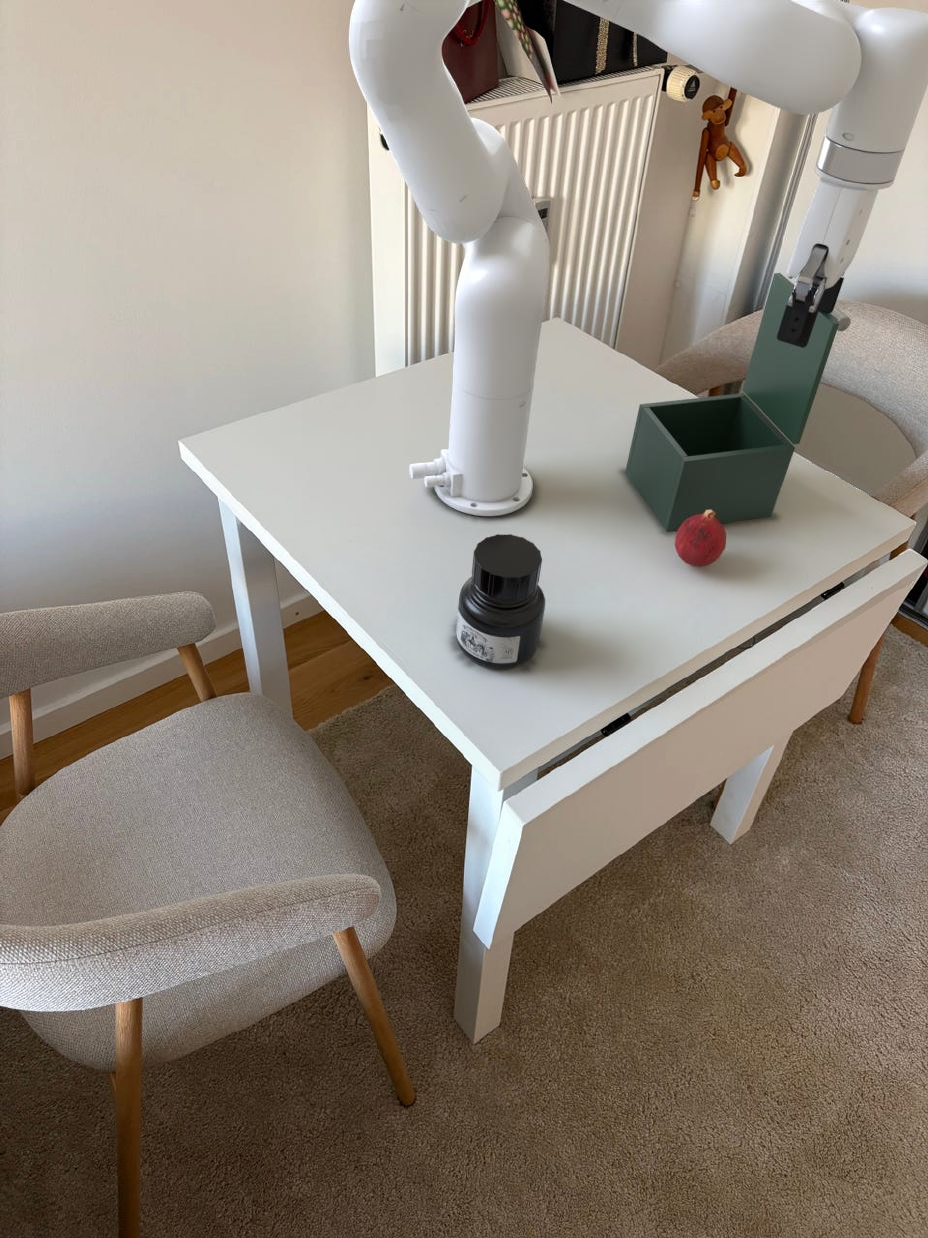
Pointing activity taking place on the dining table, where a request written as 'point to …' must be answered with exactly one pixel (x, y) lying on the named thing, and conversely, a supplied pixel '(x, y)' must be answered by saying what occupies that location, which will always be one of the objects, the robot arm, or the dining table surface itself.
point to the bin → (707, 459)
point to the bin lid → (789, 363)
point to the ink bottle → (501, 603)
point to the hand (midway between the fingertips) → (804, 325)
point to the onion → (700, 539)
